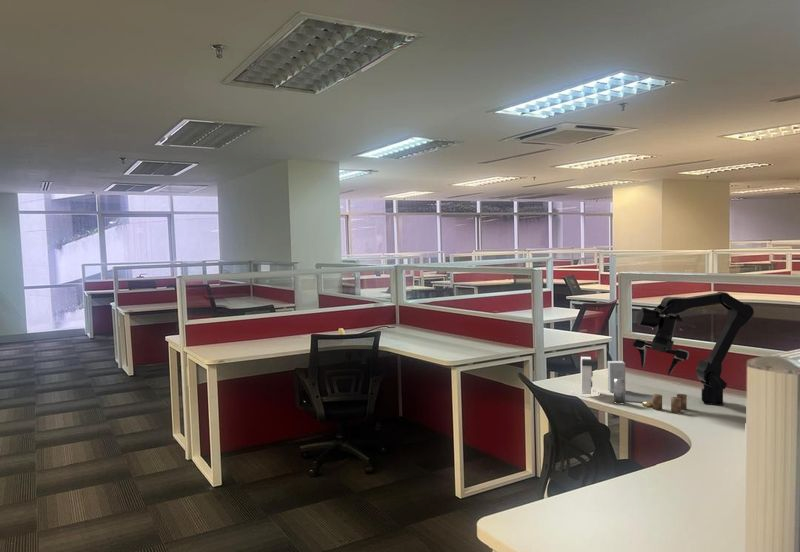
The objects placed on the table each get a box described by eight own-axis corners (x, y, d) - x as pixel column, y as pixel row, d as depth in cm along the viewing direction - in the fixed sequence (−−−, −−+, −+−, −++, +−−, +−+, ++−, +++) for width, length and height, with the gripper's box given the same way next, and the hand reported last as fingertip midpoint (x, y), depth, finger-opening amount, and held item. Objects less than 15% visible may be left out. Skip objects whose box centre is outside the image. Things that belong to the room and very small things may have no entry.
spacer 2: (680, 411, 204) (680, 397, 204) (681, 413, 201) (681, 399, 201) (670, 410, 206) (670, 396, 205) (671, 412, 203) (671, 398, 202)
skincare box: (622, 389, 235) (622, 360, 234) (625, 392, 230) (625, 362, 230) (607, 389, 235) (607, 360, 235) (610, 392, 231) (610, 362, 230)
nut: (654, 405, 213) (654, 401, 213) (654, 408, 209) (654, 404, 209) (642, 404, 214) (642, 400, 214) (642, 407, 211) (642, 403, 211)
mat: (654, 395, 225) (654, 394, 225) (654, 404, 214) (654, 403, 214) (621, 393, 229) (621, 392, 229) (619, 401, 218) (619, 400, 218)
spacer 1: (662, 408, 209) (662, 394, 208) (662, 410, 206) (662, 396, 205) (652, 407, 210) (652, 393, 210) (652, 409, 207) (652, 395, 207)
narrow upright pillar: (602, 398, 223) (602, 360, 222) (571, 397, 226) (571, 359, 225) (599, 390, 234) (599, 354, 233) (570, 389, 237) (570, 353, 236)
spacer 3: (686, 407, 208) (686, 394, 208) (686, 410, 205) (686, 396, 205) (676, 407, 209) (676, 393, 209) (676, 409, 206) (676, 395, 206)
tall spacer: (625, 401, 218) (625, 378, 217) (624, 404, 214) (625, 380, 213) (614, 400, 219) (614, 377, 219) (613, 403, 216) (613, 379, 215)
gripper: (634, 324, 211) (625, 365, 212) (690, 338, 201) (679, 381, 202) (640, 324, 221) (631, 363, 222) (693, 336, 211) (683, 378, 212)
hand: (655, 371), depth 214 cm, fingers open, 9 cm apart
